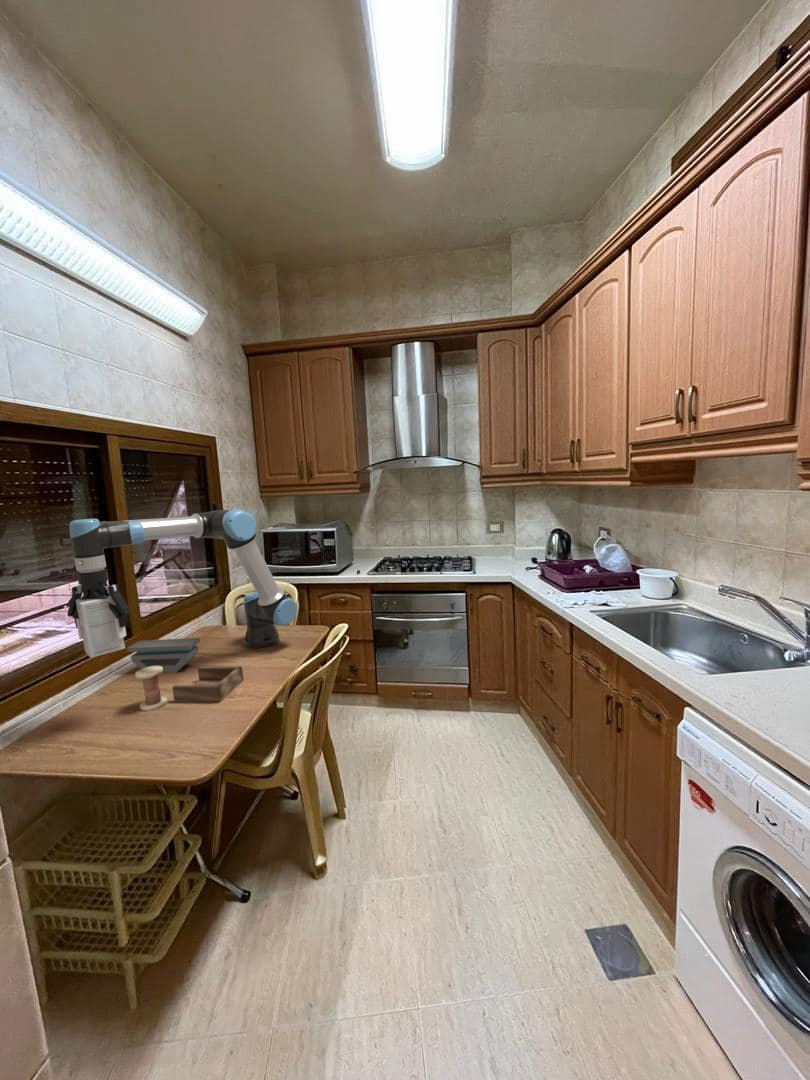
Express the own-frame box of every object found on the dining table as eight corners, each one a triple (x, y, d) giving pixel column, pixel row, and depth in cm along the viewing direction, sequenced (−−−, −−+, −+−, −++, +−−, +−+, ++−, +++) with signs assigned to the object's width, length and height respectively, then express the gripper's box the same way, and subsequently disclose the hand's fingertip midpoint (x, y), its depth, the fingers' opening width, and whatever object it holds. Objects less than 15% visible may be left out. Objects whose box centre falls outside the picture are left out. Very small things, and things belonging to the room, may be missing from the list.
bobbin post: (151, 698, 154) (146, 665, 153) (172, 698, 153) (168, 665, 152) (134, 710, 147) (129, 676, 145) (157, 711, 146) (151, 676, 144)
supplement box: (119, 642, 147) (111, 592, 144) (126, 648, 140) (117, 596, 138) (83, 651, 140) (74, 599, 138) (89, 658, 133) (80, 603, 131)
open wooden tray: (201, 680, 167) (200, 666, 166) (243, 680, 164) (241, 666, 164) (174, 701, 151) (172, 687, 150) (220, 702, 149) (218, 687, 148)
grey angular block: (202, 663, 183) (199, 637, 181) (193, 671, 175) (189, 645, 174) (143, 666, 184) (139, 640, 182) (131, 674, 176) (126, 648, 175)
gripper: (45, 574, 135) (57, 642, 138) (118, 571, 131) (129, 641, 134) (67, 568, 142) (78, 633, 145) (137, 566, 138) (147, 632, 141)
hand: (103, 637), depth 139 cm, fingers closed on supplement box, 12 cm apart
